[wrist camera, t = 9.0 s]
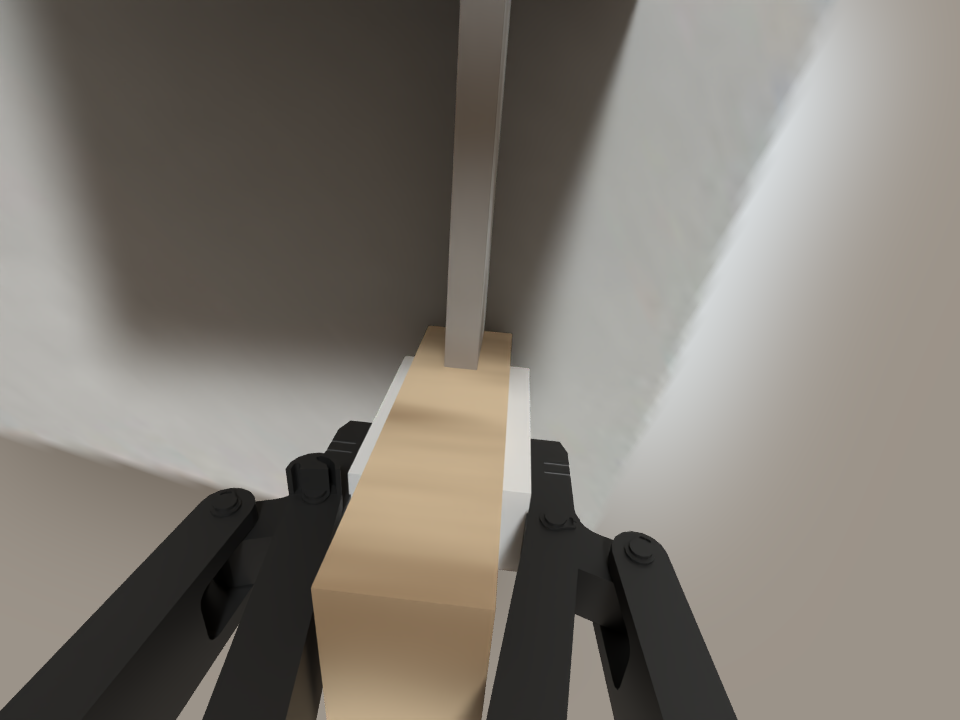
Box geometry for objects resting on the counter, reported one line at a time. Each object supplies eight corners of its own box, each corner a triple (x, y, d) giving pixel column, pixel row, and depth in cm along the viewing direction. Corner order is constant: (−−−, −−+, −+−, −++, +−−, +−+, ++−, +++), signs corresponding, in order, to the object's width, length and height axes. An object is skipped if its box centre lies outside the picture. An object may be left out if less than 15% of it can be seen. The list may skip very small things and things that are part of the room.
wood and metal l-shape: (499, 447, 20) (474, 771, 10) (425, 439, 20) (330, 752, 10) (567, -166, 12) (761, -1457, 2) (442, -174, 12) (68, -1428, 2)
